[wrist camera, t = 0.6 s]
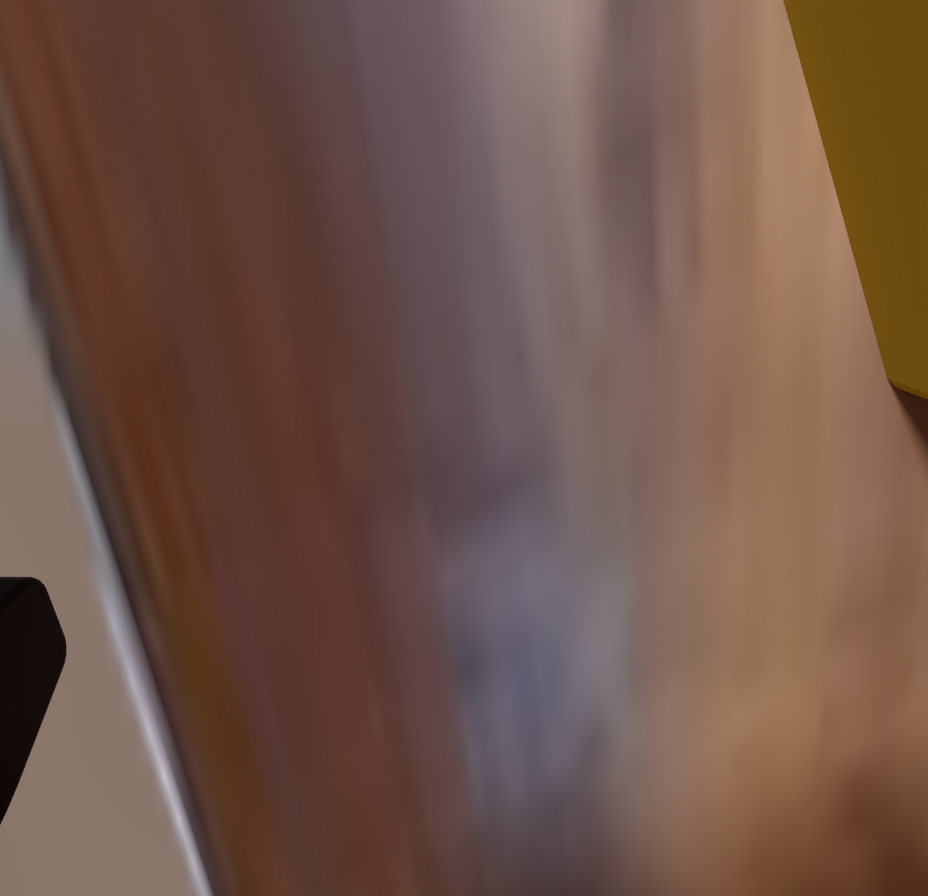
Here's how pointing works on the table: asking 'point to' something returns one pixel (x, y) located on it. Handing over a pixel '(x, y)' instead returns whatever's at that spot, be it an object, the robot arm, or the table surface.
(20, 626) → the robot arm
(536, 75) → the table surface
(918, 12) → the yellow tall block
